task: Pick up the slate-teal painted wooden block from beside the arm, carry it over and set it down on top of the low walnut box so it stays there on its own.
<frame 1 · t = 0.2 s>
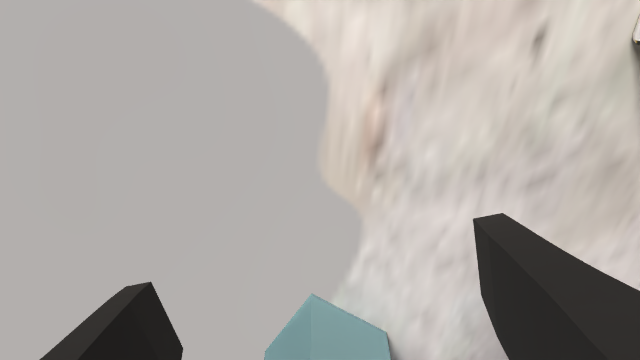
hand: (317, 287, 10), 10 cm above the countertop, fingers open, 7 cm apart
teal block: (324, 341, 24), on the countertop
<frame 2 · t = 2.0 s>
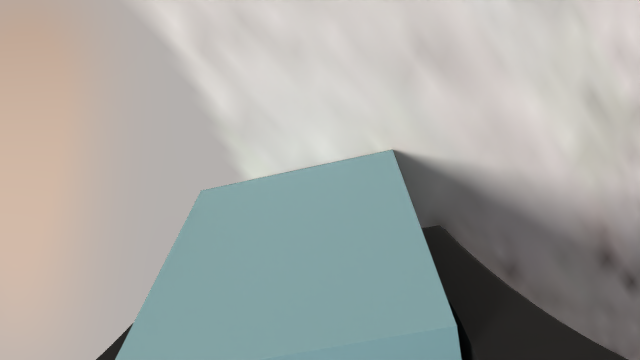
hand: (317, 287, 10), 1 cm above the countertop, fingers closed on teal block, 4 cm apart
teal block: (317, 251, 12), on the countertop, touching gripper
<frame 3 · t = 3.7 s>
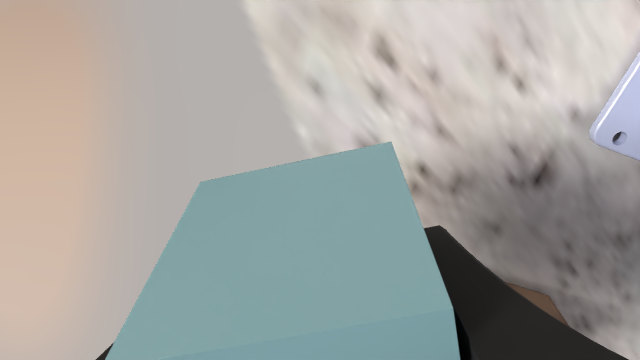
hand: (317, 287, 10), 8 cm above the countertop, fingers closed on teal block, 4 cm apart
teal block: (316, 243, 12), point 7 cm above the countertop, touching gripper
walnut box: (372, 347, 23), on the countertop
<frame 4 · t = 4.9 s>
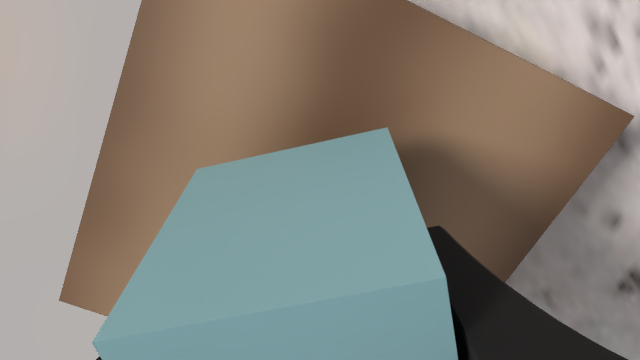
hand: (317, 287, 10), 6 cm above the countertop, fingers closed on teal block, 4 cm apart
teal block: (313, 231, 12), point 4 cm above the countertop, touching gripper
walnut box: (318, 166, 16), on the countertop
when the fingers open (6 cm above the countertop, at t = 5.3 s): teal block drops 1 cm, resting on walnut box.
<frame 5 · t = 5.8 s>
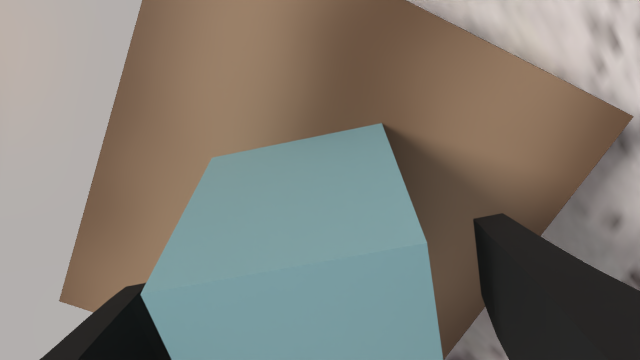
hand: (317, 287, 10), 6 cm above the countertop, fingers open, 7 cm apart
teal block: (314, 214, 13), point 3 cm above the countertop, touching walnut box
walnut box: (318, 166, 16), on the countertop, touching teal block
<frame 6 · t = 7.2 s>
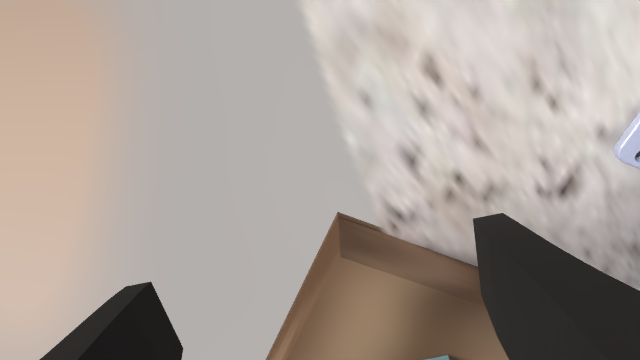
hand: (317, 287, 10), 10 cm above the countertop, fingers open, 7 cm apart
walnut box: (398, 342, 25), on the countertop, touching teal block
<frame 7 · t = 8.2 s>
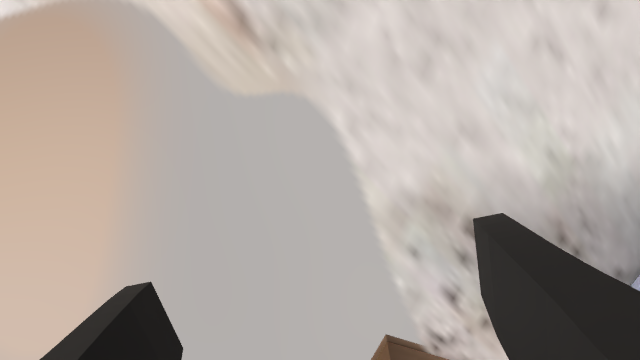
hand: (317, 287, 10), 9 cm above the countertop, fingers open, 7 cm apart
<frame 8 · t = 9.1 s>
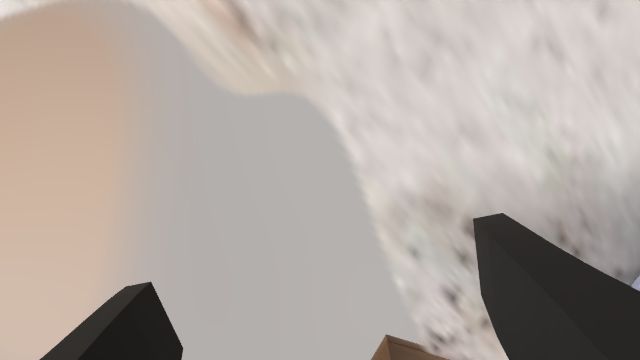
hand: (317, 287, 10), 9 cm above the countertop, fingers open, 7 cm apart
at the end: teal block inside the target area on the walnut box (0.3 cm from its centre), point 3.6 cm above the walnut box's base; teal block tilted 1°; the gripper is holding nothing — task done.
